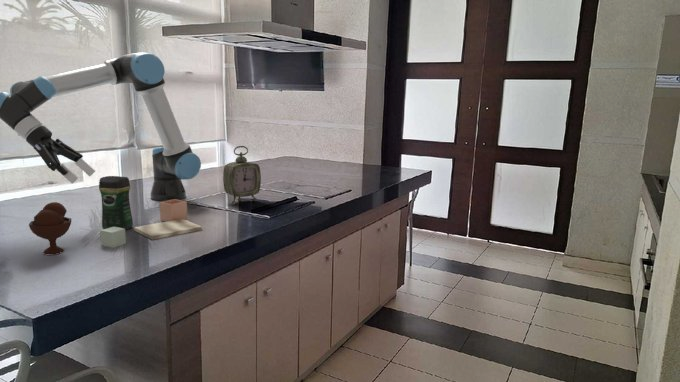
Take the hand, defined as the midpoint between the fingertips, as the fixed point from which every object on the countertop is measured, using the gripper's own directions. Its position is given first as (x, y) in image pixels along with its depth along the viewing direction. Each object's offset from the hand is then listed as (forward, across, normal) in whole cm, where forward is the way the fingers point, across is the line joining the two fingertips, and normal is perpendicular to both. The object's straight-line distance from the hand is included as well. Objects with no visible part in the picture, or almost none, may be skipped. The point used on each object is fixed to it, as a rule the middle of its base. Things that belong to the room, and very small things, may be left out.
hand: (84, 177), depth 168 cm
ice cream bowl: (+13, +26, -13) cm, 32 cm away
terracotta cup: (+32, -12, +6) cm, 34 cm away
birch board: (+33, +3, +7) cm, 33 cm away
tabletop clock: (+47, -42, +21) cm, 66 cm away
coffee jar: (+20, 0, -6) cm, 21 cm away
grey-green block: (+24, +19, -2) cm, 30 cm away
